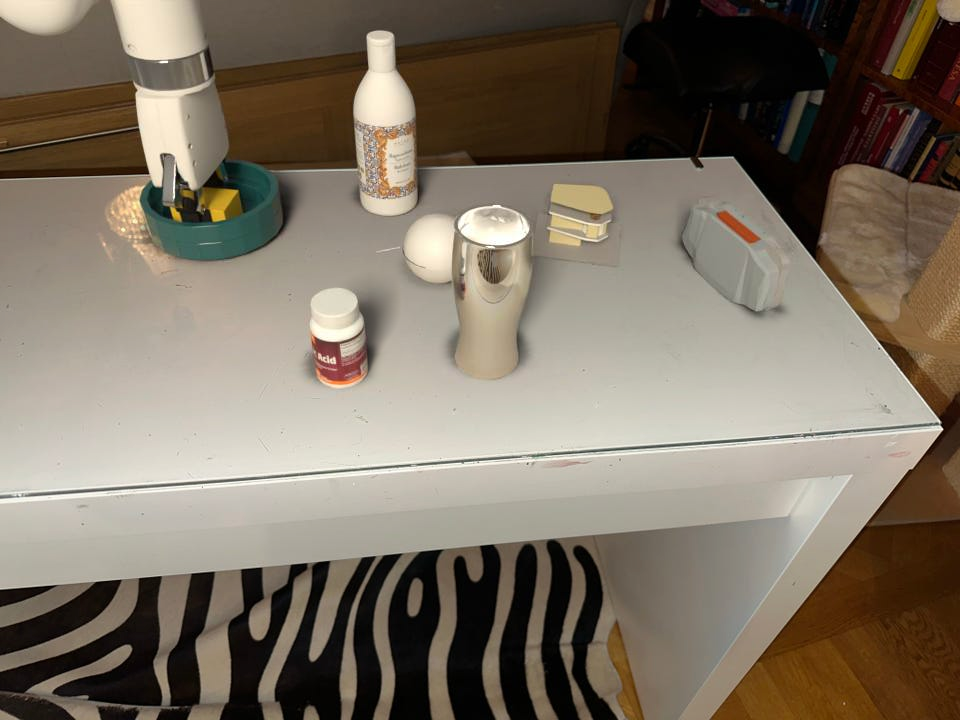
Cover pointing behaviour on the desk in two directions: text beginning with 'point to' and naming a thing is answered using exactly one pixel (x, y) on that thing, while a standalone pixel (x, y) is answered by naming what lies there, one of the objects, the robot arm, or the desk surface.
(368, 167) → the bath foam
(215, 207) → the sponge
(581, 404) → the desk surface
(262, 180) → the bowl
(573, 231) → the stacked layers on plate
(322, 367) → the pill bottle
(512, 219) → the beer glass
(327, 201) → the desk surface
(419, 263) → the lollipop
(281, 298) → the desk surface
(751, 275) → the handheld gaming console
